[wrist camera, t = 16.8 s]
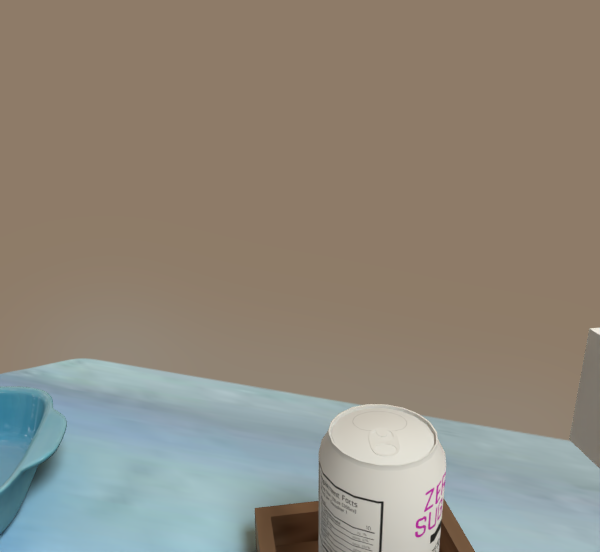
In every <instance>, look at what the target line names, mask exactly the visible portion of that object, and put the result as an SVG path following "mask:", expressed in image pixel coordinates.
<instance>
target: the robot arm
mask: <svg viewBox="0 0 600 552" xmlns="http://www.w3.org/2000/svg"><path fill="white" fill-rule="evenodd" d="M569 439H570V441H571V442H572V443H574V444H575V445H576V446H577V447H578V448H579V449H580V450H581V451H582V452H583V453H584V454H585V455H586V456H587V457H588V458H589V459H590V460H591V461H592V462H593V463H595V464H596V465H597V466H598V467H599V468H600V328H593V329H592V328H591V329H589V334H588V339H587V345H586V350H585V356H584V361H583V367H582V372H581V378H580V383H579V389H578V394H577V400H576V405H575V411H574V417H573V422H572V427H571V433H570V438H569Z"/></svg>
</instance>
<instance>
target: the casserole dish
mask: <svg viewBox="0 0 600 552" xmlns="http://www.w3.org/2000/svg"><path fill="white" fill-rule="evenodd" d="M66 427H67V421H66V418H65V417H64V416H63V415H62V414H61V413H59V412H58V411H56V410H54V409H53V400H52V397H51V396H50V395H49V394H48V393H47V392H45V391H43V390H39V389H35V388H30V387H0V534H1V533H2V532H3V531H4V530H5V529H6V528H7V527H8V525H9V524H10V523H11V521H12V520H13V518H14V517H15V515H16V513H17V512H18V510H19V508H20V506H21V504H22V502H23V500H24V498H25V495H26V493H27V491H28V489H29V486H30V484H31V481H32V479H33V477H34V474H35V472H36V469H37V467H38V465H39V464H41V463H43V462H45V461H46V460H47V459H48V458H50V457H51V456H52V455H53V454H54V453H55V451H56V450H57V448H58V447H59V445H60V443H61V441H62V439H63V436H64V434H65V431H66Z"/></svg>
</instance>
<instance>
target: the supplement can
mask: <svg viewBox="0 0 600 552" xmlns="http://www.w3.org/2000/svg"><path fill="white" fill-rule="evenodd" d="M445 474H446V459H445V452H444V450H443V448H442V446H441V444H440V442H439V440H438V438H437V432H436V430H435V429H434V427H433V426H432V424H431V423H430V422H429V421H428V420H426V419H425V418H423V417H422V416H421V415H419V414H418V413H415V412H413V411H410V410H407V409H405V408H402V407H397V406H391V405H386V404H367V405H362V406H357V407H352V408H350V409H348V410H346V411H343V412H341V413H339V414H338V415H337V416H336V417H335V418H334V419H333V420H332V421H331V424H330V428H329V430H328V431H327V433H326V434H325V436H324V437H323V439H322V442H321V445H320V449H319V539H318V552H439V545H440V533H441V521H442V510H443V498H444V486H445Z"/></svg>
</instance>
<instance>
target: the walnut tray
mask: <svg viewBox="0 0 600 552" xmlns="http://www.w3.org/2000/svg"><path fill="white" fill-rule="evenodd" d="M255 528H256V550H257V552H318V539H319V501H314V502H305V503H296V504H288V505H279V506H270V507H261V508H255ZM439 552H475V551H474V549H473V548H472V546H471V544H470V542H469V541H468V539H467V537H466V536H465V534H464V532H463V530H462V529H461V527H460V525H459V524H458V522H457V520H456V518H455V517H454V515H453V513H452V512H451V510H450V508H449V507H448V505H447V503H446V501H445V500H444V498H443V510H442V521H441V533H440V545H439Z"/></svg>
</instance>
